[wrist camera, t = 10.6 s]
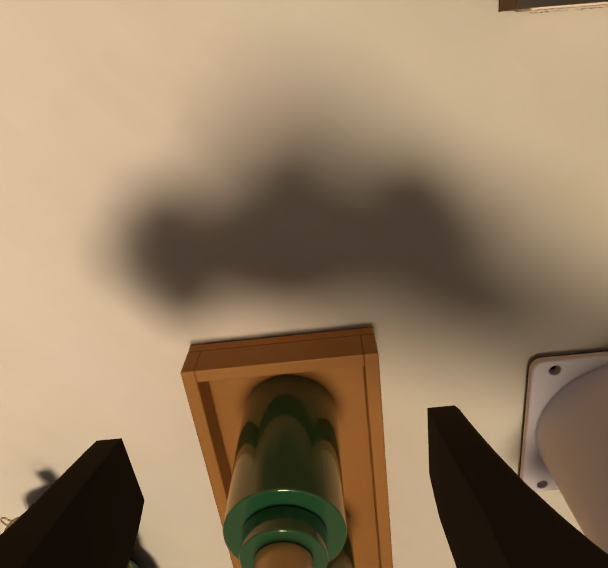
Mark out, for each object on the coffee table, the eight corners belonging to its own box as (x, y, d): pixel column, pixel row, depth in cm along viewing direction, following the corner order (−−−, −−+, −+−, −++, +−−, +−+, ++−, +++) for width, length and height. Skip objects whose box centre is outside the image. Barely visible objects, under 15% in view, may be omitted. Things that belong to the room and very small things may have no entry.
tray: (372, 326, 22) (378, 353, 21) (394, 634, 32) (400, 672, 30) (190, 345, 23) (179, 372, 21) (266, 643, 33) (263, 680, 31)
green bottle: (332, 369, 23) (348, 569, 14) (341, 444, 25) (359, 660, 16) (235, 379, 23) (193, 580, 14) (251, 452, 25) (222, 669, 16)
